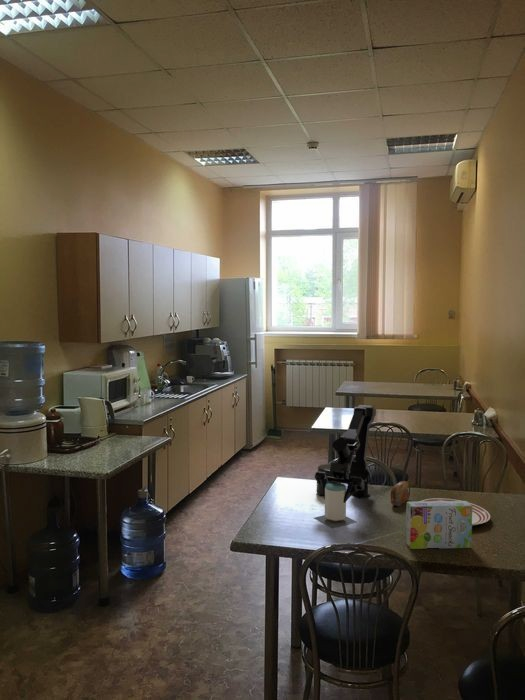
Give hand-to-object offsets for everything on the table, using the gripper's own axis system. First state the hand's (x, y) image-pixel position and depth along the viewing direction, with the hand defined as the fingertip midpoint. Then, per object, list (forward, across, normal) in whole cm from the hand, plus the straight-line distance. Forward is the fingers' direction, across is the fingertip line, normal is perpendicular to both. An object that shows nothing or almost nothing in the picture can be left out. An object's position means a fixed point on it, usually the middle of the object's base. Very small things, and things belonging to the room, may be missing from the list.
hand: (334, 500), depth 213 cm
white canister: (+4, 0, +6) cm, 7 cm away
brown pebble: (+5, 0, +6) cm, 8 cm away
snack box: (+9, +39, +4) cm, 40 cm away
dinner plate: (-12, +40, +25) cm, 48 cm away
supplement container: (-15, -13, +27) cm, 33 cm away
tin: (-17, +18, +29) cm, 38 cm away
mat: (+5, 0, +7) cm, 9 cm away
